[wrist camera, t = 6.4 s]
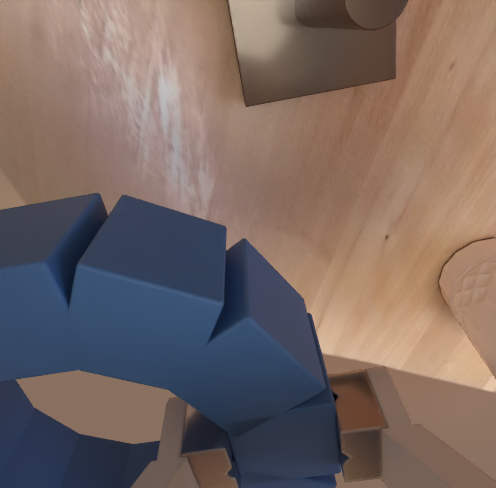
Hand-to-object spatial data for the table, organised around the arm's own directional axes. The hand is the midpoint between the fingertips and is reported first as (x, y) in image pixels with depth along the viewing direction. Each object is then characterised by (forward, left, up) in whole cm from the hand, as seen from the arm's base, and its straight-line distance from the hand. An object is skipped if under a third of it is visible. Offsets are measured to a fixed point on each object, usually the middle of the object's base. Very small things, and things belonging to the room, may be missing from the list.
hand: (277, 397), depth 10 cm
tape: (-4, 0, -2) cm, 5 cm away
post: (+5, +8, -20) cm, 22 cm away
